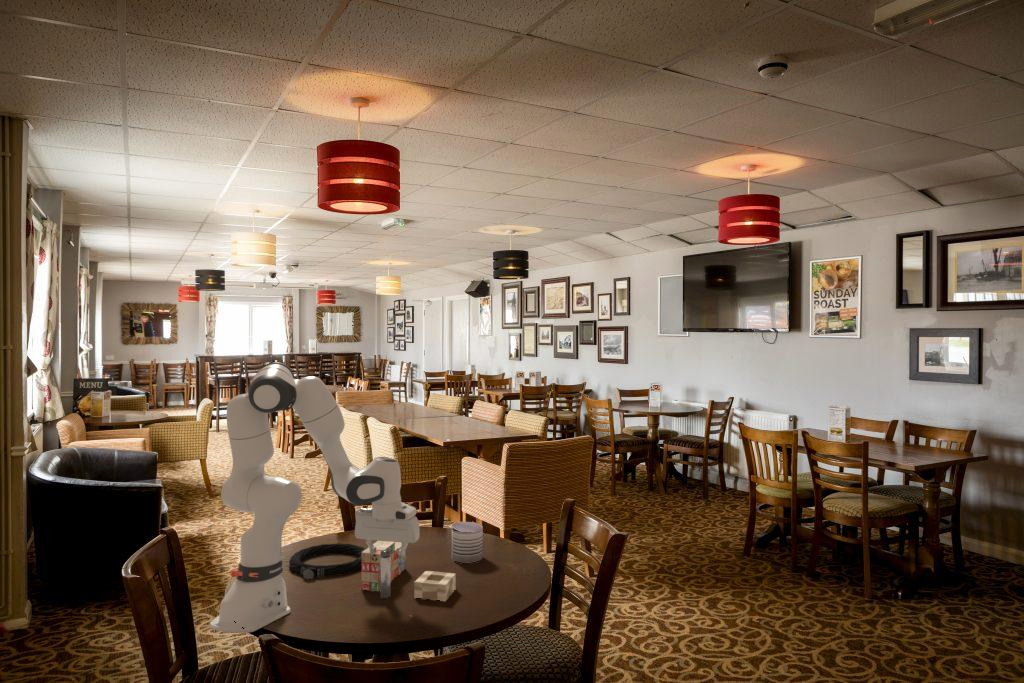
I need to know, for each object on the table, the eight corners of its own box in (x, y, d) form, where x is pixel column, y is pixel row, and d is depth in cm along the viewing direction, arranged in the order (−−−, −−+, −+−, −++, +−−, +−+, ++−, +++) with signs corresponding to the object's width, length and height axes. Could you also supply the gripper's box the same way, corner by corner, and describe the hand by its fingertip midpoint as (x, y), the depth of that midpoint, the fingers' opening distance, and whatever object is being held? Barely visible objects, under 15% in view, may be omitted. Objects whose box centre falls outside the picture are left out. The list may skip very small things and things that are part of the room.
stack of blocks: (388, 567, 229) (389, 532, 229) (405, 569, 228) (406, 533, 228) (360, 590, 208) (361, 551, 208) (379, 592, 207) (379, 553, 207)
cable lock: (382, 544, 244) (347, 572, 214) (381, 554, 244) (347, 584, 214) (312, 539, 249) (269, 566, 219) (312, 549, 249) (269, 577, 219)
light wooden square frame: (445, 601, 200) (445, 584, 200) (414, 598, 202) (414, 581, 202) (455, 589, 210) (455, 573, 210) (425, 586, 212) (425, 570, 212)
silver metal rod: (388, 599, 201) (388, 553, 201) (378, 598, 202) (378, 552, 202) (392, 595, 204) (392, 549, 204) (382, 594, 205) (383, 549, 205)
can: (466, 551, 247) (466, 519, 247) (489, 558, 240) (489, 524, 240) (444, 559, 238) (444, 525, 238) (467, 566, 231) (467, 531, 231)
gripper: (350, 510, 202) (351, 555, 203) (413, 514, 197) (414, 560, 198) (360, 504, 208) (360, 548, 209) (421, 509, 203) (421, 553, 204)
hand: (387, 554), depth 203 cm, fingers open, 8 cm apart
